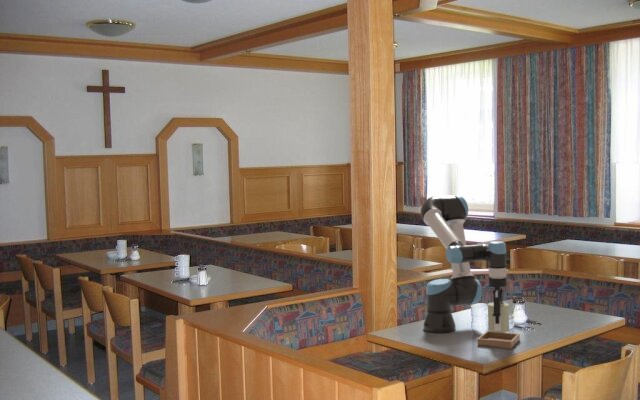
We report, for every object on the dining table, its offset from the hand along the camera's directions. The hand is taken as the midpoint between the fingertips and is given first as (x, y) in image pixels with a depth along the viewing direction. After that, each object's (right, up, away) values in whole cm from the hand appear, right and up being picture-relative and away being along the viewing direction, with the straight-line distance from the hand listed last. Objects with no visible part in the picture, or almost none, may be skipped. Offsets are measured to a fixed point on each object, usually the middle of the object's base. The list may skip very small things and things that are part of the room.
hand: (498, 328), depth 306 cm
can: (0, -1, 0) cm, 1 cm away
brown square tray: (0, -7, +1) cm, 7 cm away
